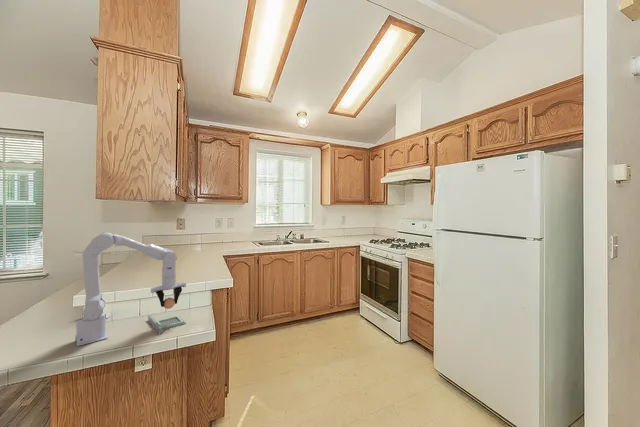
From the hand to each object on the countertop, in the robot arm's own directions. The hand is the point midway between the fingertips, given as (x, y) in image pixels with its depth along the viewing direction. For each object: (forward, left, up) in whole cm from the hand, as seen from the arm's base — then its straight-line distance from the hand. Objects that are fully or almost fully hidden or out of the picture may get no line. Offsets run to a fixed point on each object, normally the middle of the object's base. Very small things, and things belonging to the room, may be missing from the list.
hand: (168, 304), depth 126 cm
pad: (0, 0, -9) cm, 9 cm away
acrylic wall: (-6, +1, -9) cm, 11 cm away
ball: (0, 0, +1) cm, 1 cm away
